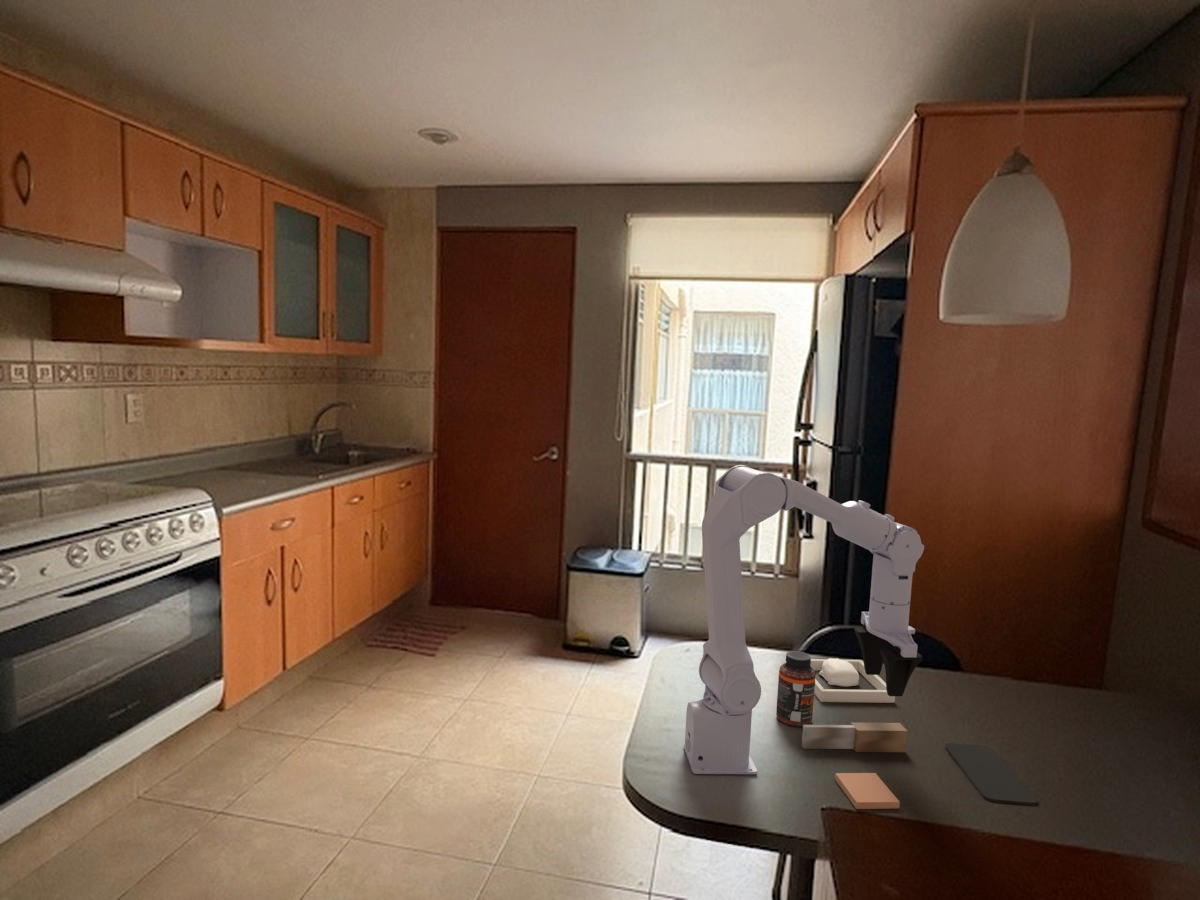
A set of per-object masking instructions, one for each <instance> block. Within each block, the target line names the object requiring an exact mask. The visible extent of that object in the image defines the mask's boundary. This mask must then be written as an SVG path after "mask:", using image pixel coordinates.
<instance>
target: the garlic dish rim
mask: <svg viewBox="0 0 1200 900" xmlns="http://www.w3.org/2000/svg"><path fill="white" fill-rule="evenodd" d="M826 660H828V659H827V658H823V659H821V658H818V659H817V658H811V664H810V666H811V668H812V669H813V670H814V671H821V670H822V665H823V662H824V661H826ZM843 660H844V661H847V662H849V663H850V664H852V665H853V667H854V668H855V669H856V671H857V672H858V673H860V675H861V676H863V678H865V679H866V680H867V681H868V682H869V683H870V685H871V686H873V688H874V689H841V688H840V689H835V688H833V689H831V688H830V689H828V688H824V687H823V686H822V685H821V684H820V682H819V681H818V680H817V679H816V678H815V689H814V696H816V698H817V699H818V700H819V701H820V703H881V704H882V703H884V704H885V703H888V704H891V703H892V704H895V703H896V696H889V695H888V694H887V690H886V681H884V680H883V679H882V677H880V676H879V675H867V674H866V672H865V668H864V662H863V659H843Z"/></svg>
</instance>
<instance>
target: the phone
mask: <svg viewBox="0 0 1200 900" xmlns="http://www.w3.org/2000/svg"><path fill="white" fill-rule="evenodd" d="M944 749H945V751H946V752H947V753H948V755H949V756H950V757H951V759H952V760H953V761H954V763H955V764H956V765H957V766H958V767H959V769H960V770H961V771H962V773H963V774H964V775H965V777H966V778H967V779H968V780H969V782H970V783H971V784H972V786H973V787H974V788H975V790H976V791H977V792H978V794H979V795H980V796H981V797H982V799H984V800H986V801H988V802H992V803H1001V804H1014V805H1025V806H1036V805H1038V799H1037V797H1036V796H1035V795H1034V794H1033V793H1032V792H1031V790H1029V788H1028V787H1027V786H1026V785H1025V784H1024V782H1023V781H1022V780H1021V779H1020V778H1019V777H1018V775H1016V773H1015V772H1014V771H1013V770H1012V769H1011V768H1010V767H1009V765H1008V764H1007V763H1006V762H1005V761H1004V760H1003V759H1002V758H1001V756H1000V755H999V754H998V753H997V752H996V751H995V750H994V749H993V748H991V747H990V746H987V745H980V744H979V745H978V744H968V743H967V744H966V743H952V742H948V743H946V744H945V748H944Z"/></svg>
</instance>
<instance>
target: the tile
mask: <svg viewBox="0 0 1200 900" xmlns="http://www.w3.org/2000/svg"><path fill="white" fill-rule="evenodd" d="M834 781H835V782H836V783H837V785H838V786H839V787H840V788H841V790H842V792H843V793H844V795H845V796H846V797H847V798H848V800H849V801H850V802H851V804H852V805H853V806H854V808H855V809H856V810H875V809H877V810H878V809H880V810H882V809H884V810H885V809H890V810H892V809H900V806H901V805H900V804H901V803H900V800H899V799H898V798H897V797H896V796H895V794H894V793H893V792H892V791H891V790H890V789H889V787H888V786H887V785H886V784H885V782H884V781H883V780H882V779H881V778H880V776H879V775H878V774H877V773H876V772H836V773H834Z"/></svg>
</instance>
